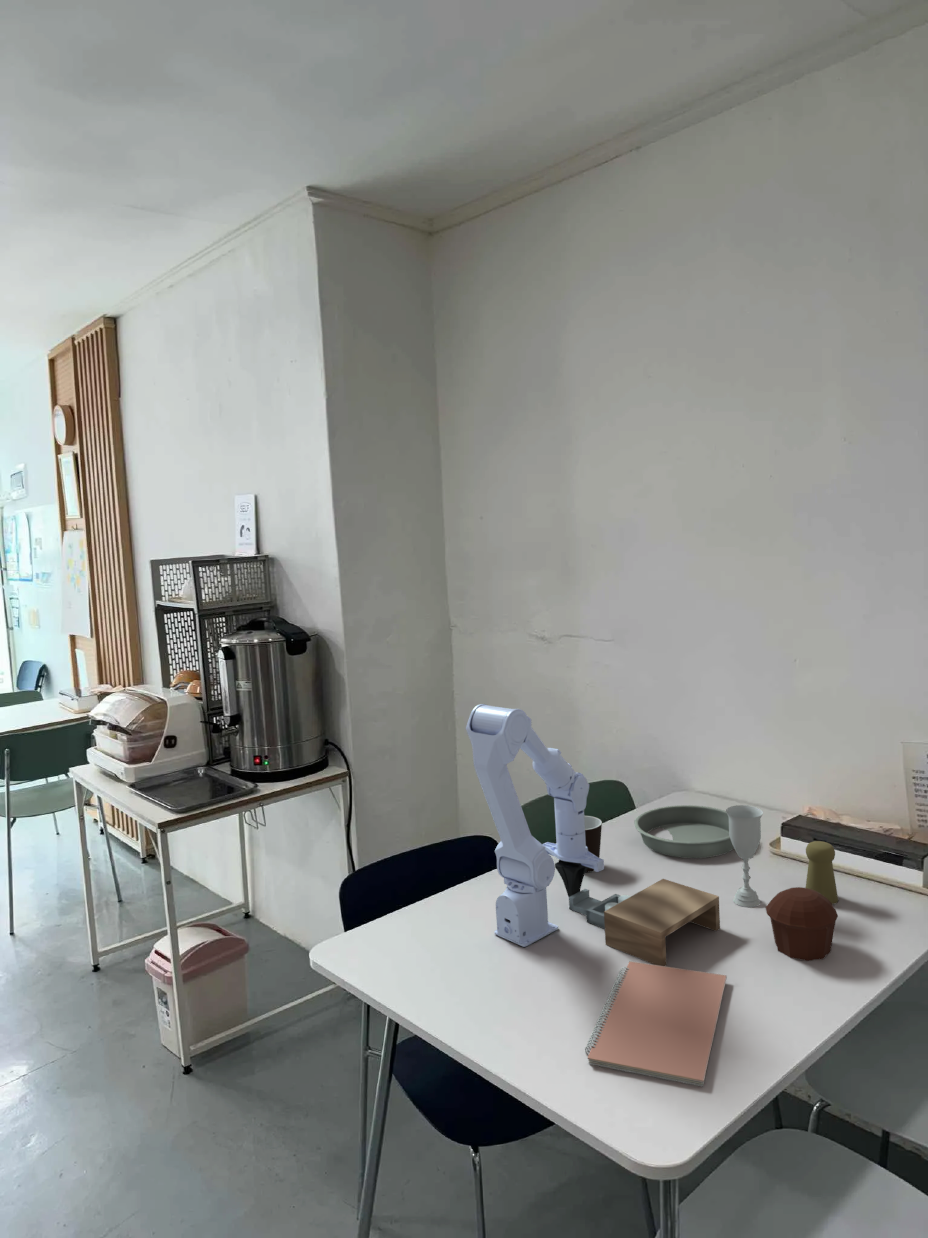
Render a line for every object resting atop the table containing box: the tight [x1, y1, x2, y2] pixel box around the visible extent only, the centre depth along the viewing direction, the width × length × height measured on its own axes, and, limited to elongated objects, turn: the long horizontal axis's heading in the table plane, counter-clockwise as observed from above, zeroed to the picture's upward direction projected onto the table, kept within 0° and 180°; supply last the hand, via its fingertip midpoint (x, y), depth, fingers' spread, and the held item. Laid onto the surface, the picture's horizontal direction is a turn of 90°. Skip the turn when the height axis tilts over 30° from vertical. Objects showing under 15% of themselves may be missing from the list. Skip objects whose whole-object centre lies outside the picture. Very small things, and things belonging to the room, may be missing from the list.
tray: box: [568, 888, 632, 930], centre depth 162 cm, size 9×15×4 cm, turn 42°
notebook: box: [584, 960, 728, 1087], centre depth 128 cm, size 27×17×2 cm, turn 157°
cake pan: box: [633, 804, 735, 859], centre depth 197 cm, size 25×25×4 cm
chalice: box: [725, 804, 764, 908], centre depth 163 cm, size 7×7×18 cm
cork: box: [805, 840, 839, 906], centre depth 163 cm, size 6×6×11 cm
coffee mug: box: [584, 815, 603, 874], centre depth 187 cm, size 12×9×10 cm
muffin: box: [765, 886, 839, 962], centre depth 145 cm, size 12×11×10 cm
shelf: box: [604, 878, 721, 967], centre depth 152 cm, size 18×12×6 cm, turn 132°
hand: (573, 896), depth 168 cm, fingers closed
